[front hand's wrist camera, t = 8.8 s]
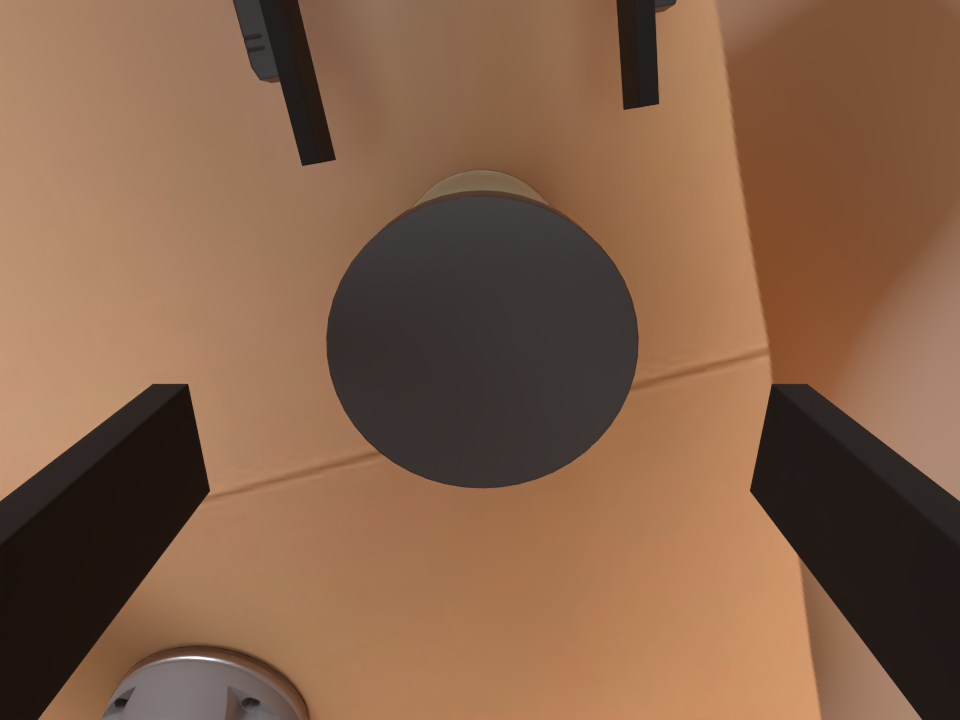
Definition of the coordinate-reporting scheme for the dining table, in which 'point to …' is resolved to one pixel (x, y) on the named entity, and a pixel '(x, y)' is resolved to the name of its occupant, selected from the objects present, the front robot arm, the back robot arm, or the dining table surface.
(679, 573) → the dining table surface
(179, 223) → the dining table surface
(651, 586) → the dining table surface
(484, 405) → the lid
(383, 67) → the dining table surface
